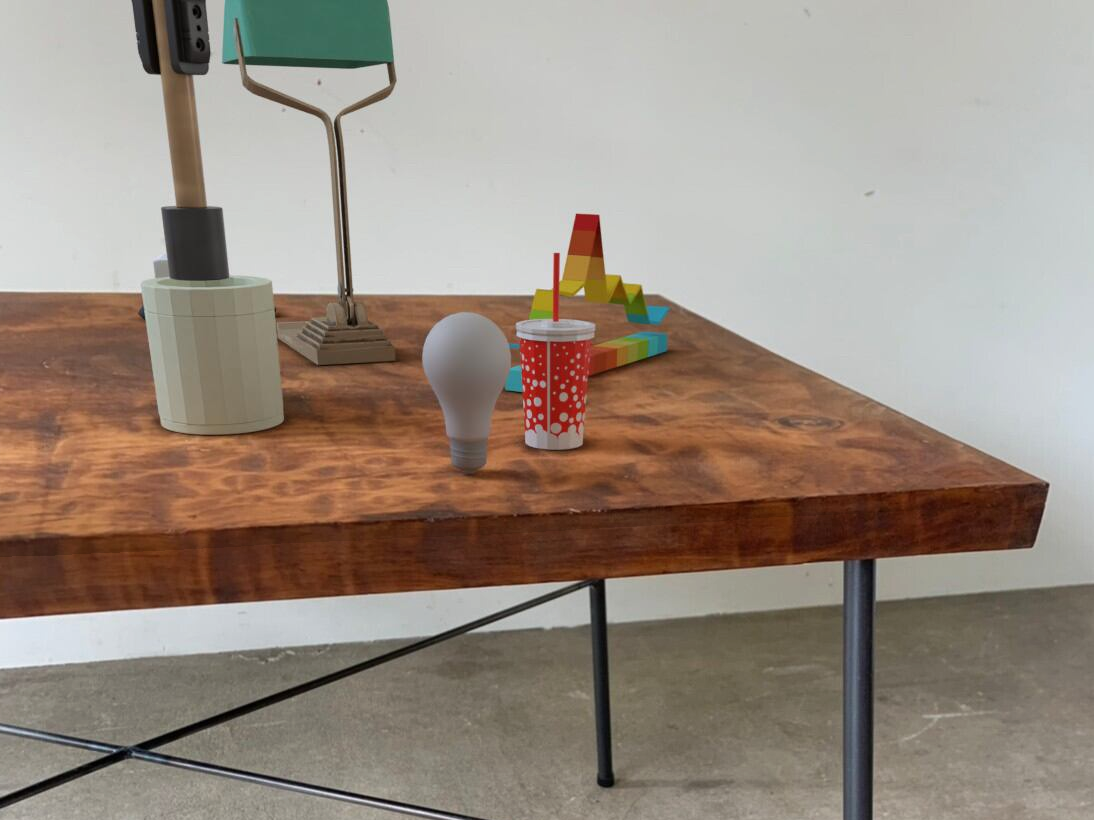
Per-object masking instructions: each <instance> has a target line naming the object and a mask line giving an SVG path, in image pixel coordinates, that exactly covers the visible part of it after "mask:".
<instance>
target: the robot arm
mask: <svg viewBox="0 0 1094 820" xmlns="http://www.w3.org/2000/svg"><path fill="white" fill-rule="evenodd" d="M130 1H131V5H132V13H133V14H132V15H133V22H134V29H135V37H136V45H137V53H138V55H139V58H140V62H141V65H142V69H143V70H144V72H145V73H146V74H148V75H154V76H161V73H160V65H159V56H158V48H157V39H156V31H155V23H154V14H153V6H152V0H130ZM163 1H164V9H165V18H166V27H167V35H168V44H169V53H170V62H171V67H172V69H173V71H174V72H175V73H177V74H185V75H193V76H206V75H207V74H208V73H209V70H210V60H211V54H212V53H211V52H212V50H211V44H210V43H211V42H210V34H209V32H210V31H209V21H208V13H207V0H163Z"/></svg>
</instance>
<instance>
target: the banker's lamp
mask: <svg viewBox="0 0 1094 820" xmlns="http://www.w3.org/2000/svg"><path fill="white" fill-rule="evenodd" d="M223 10H224V11H223V29H222V31H223V32H222V51H221V63H222V64H224V65H232V66H233V65H235V66H238V67H239V72H240V77H241V78H240V79H241V84H242V86H243V87H244V89H246V91H247V92H249V93H251V94H253V95H255V96H258V97H259V98H263V99H266V100H269V101H271V102H274V103H277V104H281V105H283V106H287V107H289V108H292V109H295V110H298V111H300V112H302V113H305V114H309V115H312V116H315V117H317V118H318V119H320V120H321V121H322V122H323V125H324V127H325V131H326V138H327V143H328V145H327V146H328V152H329V153H328V154H329V167H330V168H329V169H330V179H331V180H330V181H331V196H332V198H331V199H332V211H333V225H334V226H333V227H334V240H335V241H334V242H335V254H336V255H335V256H336V270H337V295H338V298H339V299H338V301H339V302H329V303H328V304H327V307H326V316H325V317H321V316H320V317H311V320H306V321H305V320H304V321H283V322H276V332H277V340H280V341H281V342H283V343H284V344H286V345H287V346H289V348H291V349H293V350H295V351H296V352H298V353H299V354H301V355H302V356H304V357H305V358H307V359H308V360H309V361H311V362H312V363H314V364H315V365H317V366H324V365H325V366H326V365H327V366H328V365H343V364H344V365H345V364H358V363H378V362H393V361H396V347H395V345H394V344H392V340H391V339H388V338H387V334H386V333H384V330H383V328H381V327H379V324H377V323H375V322H373V321H371V320H369V317H368V311H367V308H366V305H365V303H364V301H363V302H362V301H354V287H353V285H354V284H353V271H352V255H351V237H350V224H349V221H350V220H349V205H348V189H347V174H346V173H347V172H346V159H345V146H344V138H343V132H342V125H341V118H342V117H343V116H346V115H349V114H352V113H353V112H356V111H358V110H361V109H363V108H366V107H368V106H369V107H370V106H371V105H374V104H376V103H378V102H381V101H383V100H386V99H387V98H388V97H390V95H391V94H392V93H393V91H394V90H395V86H396V84H397V82H398V80H397V79H398V78H397V73H396V67H395V56H394V45H393V37H392V35H393V34H392V25H391V24H392V23H391V15H390V14H391V13H390V6H389V1H388V0H224V9H223ZM380 65H386V68H387V74H388V81H389V85H388V86H386V87H384V88H383V89H381V90H379V91H377V92H375V93H372V94H371V95H369V96H367V97H365V98H363V99H360V100H358V101H357V102H355V103H353V104H351V105H349V106H346V107H345V108H343V109H342V110H341V111H339V112H338V114H337V115H336V116H335V118H334V120H333V121H332V119H331V117H330V115H329V114H328V113H327V112H326V111H324V110H323V109H321V108H320V107H317V106H315V105H312V104H310V103H307V102H305V101H302V100H300V99H299V98H296V97H293V96H291V95H287V94H286V93H283V92H281V91H279V90H277V89H274V88H272V87H270V86H267V85H264V84H262V83H261V82H257V81H256V80H254V79H253V78H251V77H250V76H249V75H248V72H247V67H246V66H259V67H260V66H263V67H286V68H287V67H289V68H290V67H291V68H311V69H312V68H314V69H315V68H316V69H339V70H342V69H343V70H349V69H350V70H351V69H352V70H354V69H361V68H367V67H374V66H380Z"/></svg>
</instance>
